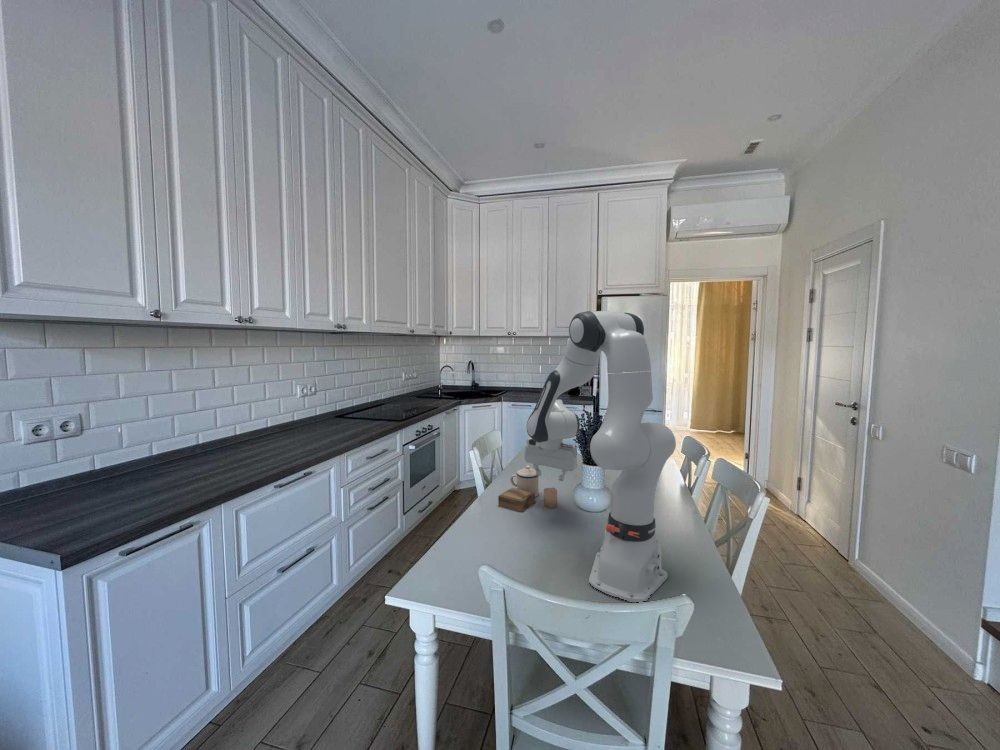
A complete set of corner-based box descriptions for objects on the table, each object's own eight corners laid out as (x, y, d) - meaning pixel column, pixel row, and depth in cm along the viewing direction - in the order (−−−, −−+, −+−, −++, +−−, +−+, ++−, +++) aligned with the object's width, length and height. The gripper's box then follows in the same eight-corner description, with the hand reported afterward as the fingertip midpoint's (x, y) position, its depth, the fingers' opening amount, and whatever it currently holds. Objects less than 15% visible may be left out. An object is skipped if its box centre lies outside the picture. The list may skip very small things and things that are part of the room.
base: (521, 512, 141) (521, 500, 141) (498, 506, 147) (498, 495, 146) (534, 503, 150) (534, 492, 149) (512, 497, 155) (512, 486, 155)
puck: (553, 509, 144) (553, 493, 143) (541, 506, 146) (541, 490, 146) (559, 505, 148) (559, 489, 147) (547, 502, 151) (547, 486, 150)
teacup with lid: (542, 492, 160) (542, 464, 159) (534, 500, 152) (534, 470, 151) (515, 487, 166) (515, 460, 165) (506, 495, 157) (506, 466, 156)
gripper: (580, 443, 142) (579, 480, 144) (530, 435, 153) (530, 470, 155) (573, 447, 137) (572, 486, 138) (522, 439, 148) (522, 475, 149)
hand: (549, 477), depth 147 cm, fingers open, 8 cm apart
